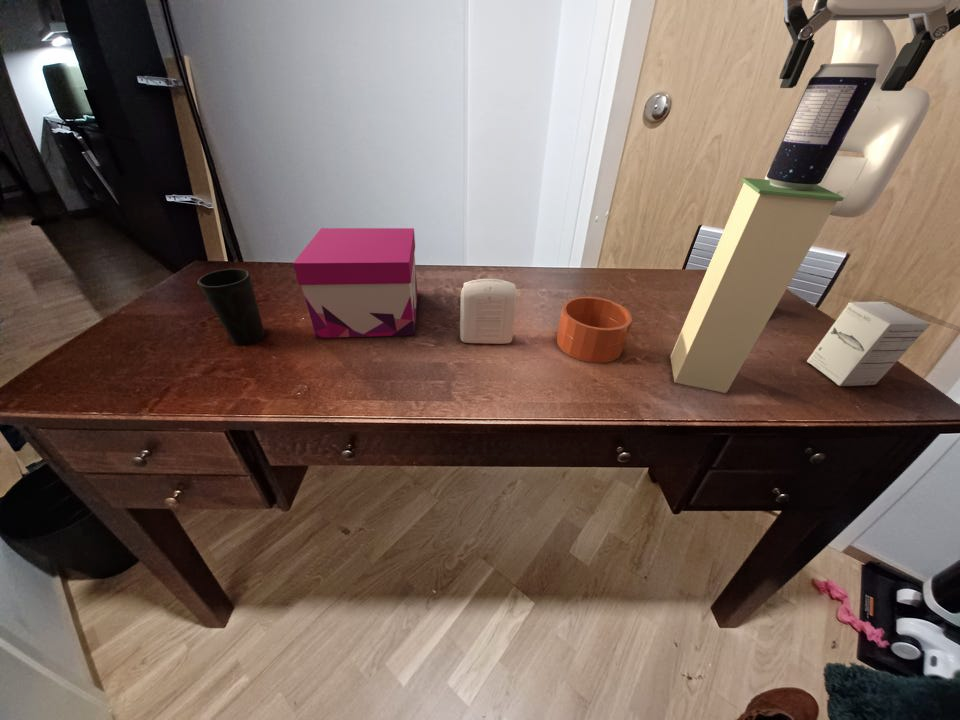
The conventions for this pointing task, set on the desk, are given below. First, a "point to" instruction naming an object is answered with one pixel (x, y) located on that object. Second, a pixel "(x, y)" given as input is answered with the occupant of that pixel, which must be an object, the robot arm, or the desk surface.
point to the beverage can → (821, 124)
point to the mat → (814, 192)
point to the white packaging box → (866, 342)
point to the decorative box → (360, 281)
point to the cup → (234, 304)
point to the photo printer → (487, 311)
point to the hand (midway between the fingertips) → (837, 89)
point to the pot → (593, 329)
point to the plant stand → (744, 284)
